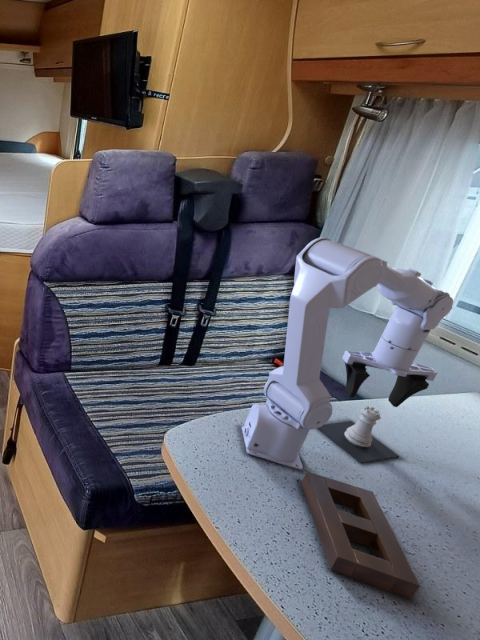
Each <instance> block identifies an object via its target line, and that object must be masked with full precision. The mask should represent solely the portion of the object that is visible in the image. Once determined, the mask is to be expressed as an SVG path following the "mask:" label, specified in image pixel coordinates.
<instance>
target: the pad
mask: <svg viewBox="0 0 480 640" xmlns="http://www.w3.org/2000/svg"><path fill="white" fill-rule="evenodd" d="M355 424H356V422H354V421H352V420H348V421H342V422H334V423H325V424H324V425H323V426H321V427H319V428H317V430H319V431H320V432H321V433H323V434H324V435H325V436H326V437H328V438H329V439H330V440H331V441H332V442H334V443H335V444H336V445H338V446H339V447H340V448H341V449H342V450H344V451H345V452H346V453H347V454H348V455H350V456H351V457H353V459H355V460H356V461H358V462H359V463H360V464H366V463H370V462H371V463H372V462H379V461H383V460H390V459H396V458H399V457H400V455H398V454H397V453H396V452H394V451H393V450H392V449H390V448H389V447H388V446H386V445H385V444H384V443H382V442H381V441H379V440H378V439H377V438H376V437H374V436H373V435H372V442H371V446H369V447H359V446H357V445H354V444H353V443H351V442H349V441H348V440H347V439H346V437H345V434H344V433H345V432H346V431H347V428H349V427H351V426H353V425H355Z"/></svg>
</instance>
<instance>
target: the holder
mask: <svg viewBox="0 0 480 640" xmlns="http://www.w3.org/2000/svg"><path fill="white" fill-rule="evenodd" d="M300 484H301V488H302V490H303V493H304V496H305V499H306V502H307V506H308V508H309V511H310V514H311V517H312V520H313V523H314V526H315V529H316V532H317V535H318V538H319V541H320V544H321V546H322V550H323V553H324V555H325V558H326V561H327V564H328V568H329V570H330V571H333V572H335V573H337V574H340V575H344V576H346V577H349V578H351V579H354V580H357V581H360V582H363V583H365V584H368V585H371V586H374V587H375V588H379V589H382V590H384V591H387V592H390V593H393V594H395V595H398V596H400V597H403V598H406V599H408V600H412V598H413V597H414V596H415V594H416V593H417V592H418V590H419V589H420V587H421V585H420V583H419V581H418V579H417V577H416V575H415V573H414V571H413V569H412V566H411V564H410V563H409V561H408V558H407V557H406V555H405V553H404V551H403V549H402V547H401V545H400V543H399V541H398V539H397V537H396V535H395V533H394V531H393V528H392V527H391V525H390V523H389V521H388V519H387V517H386V515H385V514H384V511H383V509H382V507H381V505H380V503H379V501H378V500H377V497H376V495H375V493H374V492H373V491H372V490H369V489H366V488H362V487H359V486H355V485H352V484H350V483H346V482H344V481H340V480H336V479H334V478H330V477H327V476H323V475H321V474H318V473H314V472H311V471H306V472H305V474H304V476H303V478H302V480H301V482H300ZM336 505H337V506H341V507H344V508H347V509H350V510H353V512H354V514H352V513H349V512H346V511H342V510H340V509H337V507H336ZM351 542H354V543H356V544H360V545H362V546H366V547H369V548H370V551H371V553H372V554H369V553H366V552H363V551H360V550H357V549H354V548H353V547H352V545H351Z"/></svg>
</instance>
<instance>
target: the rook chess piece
mask: <svg viewBox="0 0 480 640" xmlns="http://www.w3.org/2000/svg"><path fill="white" fill-rule="evenodd" d="M360 413H361V414H359V415H358V420H357V421H356V422H355V425H353V426H351V427H349V428H347V431H346V432H345V433H344V434H345V437H346V439H347V440H348V441H349V442H351V443H353V444H354V445H357V446H359V447H369V446H371V442H372V436H373V435H372V430H373V428H374V426H375V425H376V424H377V421H380V420H381V418H382V416H381V412H380V411H379V410H378V409H375V407H373V406H371V407H370V406H369V405H366V406H364V407H362V408H361V409H360Z"/></svg>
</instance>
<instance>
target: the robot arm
mask: <svg viewBox="0 0 480 640" xmlns="http://www.w3.org/2000/svg"><path fill="white" fill-rule="evenodd" d="M294 267H295V268H294V277H293V278H294V279H293V284H294V285H293V287H292V291H291V294H290V298H289V306H288V317H287V326H286V328H287V329H286V338H285V339H286V340H285V347H284V358H283V365H282V366H281V365H280V366H279V367H276V368H274V369H272V371H270V372H269V374H268V379H267V381H266V382H265V384H264V387H263V394H264V396H265V398H267V399H266V401H265V403H254V404H252V406H251V407H250V409H249V412H248V414H247V417H246V419H245V422H244V425H242V426H241V432H242V436H243V440H244V441H243V442H244V445H245V451H246V453H247V454H248V455H251V456H254V457H257V458H261V459H263V460H267V461H271V462H273V463H277V464H280V465H282V466H286V467H289V468H291V469H296V470H300V471H303V469H304V467H303V463H302V461H301V459H300V458H301V457H300V456H299V453H300V451H301V449H302V447H303V445H304V443H305V441H306V439H307V437H308V434H309V432H310V430H315V429H317V430H318V428H319V427H321V426H323V425H324V424H327V423H328V421H330V419H331V417H332V415H333V405H332V403H331V394H330V393H329V391H328V389H327V387H326V386H325V385H324V383H323V382H322V380H321V378H320V377H321V370H322V364H323V357H324V349H325V342H326V336H327V328H328V323H329V322H328V321H329V314H330V309H344V308H345V307H347V306H348V305H351V303H353V302H354V301H356V300H357V299H358V298H360V297H362V296H363V295H365V294H366V293H367V292H369V291H370V290H372V289H374V288H375V287H376V288H377V291H378V292H379V294H380V295H381V296H382V297H384V298H385V299H386V300H387V299H388V300H389V301H390V302H391V305H392V306H395V308H394V310H393V311H392V313H391V316H390V318H389V320H388V322H387V324H386V326H385V328H384V330H383V332H382V334H381V336H380V338H379V340H378V342H377V344H376V346H375V348H374V350H373V351H354V350H345V351H344V353H343V355H342V357H341V359H342V360H343V362H344V366H345V371H346V373H345V374H346V382H345V389H344V392H345V393H346V395H347V396H348V397H349V398H355V397H356V396H357V393H358V391H359V389H360V387H361V386H362V385H363V383H364V382H365V381H366V380H367V379H368V378H369V377H370V376H371V374H369V373H368V371H367V370H368V369H367V368H368V367H370V368H373V369H379V370H384V371H388V372H390V373H392V375H395V376H397V377H396V380H395V383H394V386H393V387H392V390H391V392H390V394H389V396H388V402H389V403H390V404H391V405H392V407H394V408H398V407H400V405H401V404H403V403H404V402H405V401H407V399H409V398H410V397H412V396H413V395H415V394H417V393H420V392H423V391H424V390H427V389H428V388H429V386H430V384H429V382H428V381H430V382H434V380H435V378H436V377H437V375H438V372H437V371H436V370H435V369H434V368H433V367H431V366H427V365H424V364H420V363H416V362H414V361H415V360H416V358H417V356H418V354H419V352H420V350H421V349H422V347H423V345H424V343H425V341H426V339H427V338H428V335H429V334H430V332H431V330H435V329H436V328H437V327H438V326H439V324H440V323H441V321H442V320H443V319H444V318H445V317H447V315H448V314H449V313H450V312H451V311H452V309H453V305H454V299H453V297H451V295H450V293H449V292H446V291H444V290H442V289H439V288H437V287H434V286H433V283H434V282H432V281H431V280H428V279H426V278H422V277H421V276H422V273H421V272H419V271H418V270H415V269H412V268H408V269H405V268H394V267H392V266H391V264H389V263H388V261H386V259H385V260H384V259H383V258H381V257H378V256H375V255H372V254H370V253H368V252H364V251H363V250H360V249H357V248H354V247H352V246H348V245H345V244H343V243H340V242H337V241H332V240H331V239H329V238H327V237H324V236H323V237H317V238H315V239H313V240H311V241H310V242H308V244H306V245H305V247H304V248H303V249H302V250H301V251H300V252H299V253H298V254H297V255H296V259H295V266H294Z"/></svg>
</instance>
